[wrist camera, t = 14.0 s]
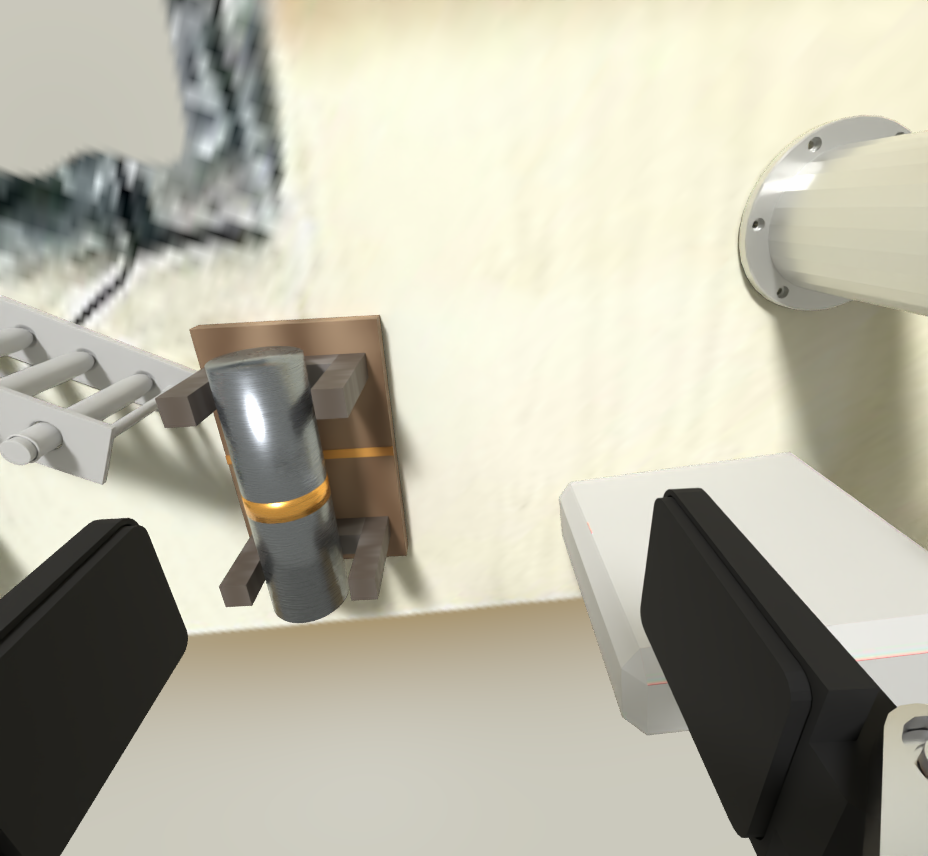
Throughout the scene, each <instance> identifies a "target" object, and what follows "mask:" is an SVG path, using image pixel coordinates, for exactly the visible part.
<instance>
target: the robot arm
mask: <svg viewBox="0 0 928 856" xmlns="http://www.w3.org/2000/svg"><path fill="white" fill-rule="evenodd" d="M808 144H809V147H808ZM753 223H755V225H754V227H753V228H752V225H753ZM739 250H740V256H741V263H742V266H743V268H744V271H745V273H746V276H747V278H748V279H749V281H750V282H751V284H752V285H753V287H754V288H755V289H756V290H757V291H758V292H759V293H760V294H761V295H762V296H764V297H765V298H766V299H768V300H770V301H772V302H774V303H776V304H777V305H781V306H784V307H787V308H790V309H796V310H803V311H815V310H824V309H829V308H833V307H837V306H840V305H842V304H845V303H847V302H850V301H852V300H856V301H861V302H865V303H870V304H874V305H878V306H883V307H887V308H892V309H896V310H901V311H905V312H910V313H914V314H918V315H923V316H927V317H928V130H926V131H921V132H915V133H912V132H911V131H910V130H909V129H908V128H906V127H905V126H903V125H902V124H900V123H899V122H897V121H895V120H892V119H888V118H885V117H882V116H872V115H859V116H853V117H847V118H842V119H838V120H835V121H831V122H828V123H825V124H822V125H820V126H818V127H816V128H814V129H812V130H810V131H808V132H806V133H805V134H803V135H802V136H800V137H799V138H797V139H796V140H795V141H793V142H792V143H790V144H789V145H788V146H787V147H786V148H785V149H784V150H783V151H782V152H781V153H780V154H779V155H777V156H776V157H775V158H774V159H773V161H772V162H771V163H770V165H769V166H768V167H767V168H766V170H765V171H764V172H763V173H762V175H761V176H760V178H759V180H758V182H757V183H756V185H755V187H754V188H753V190H752V192H751V194H750V197H749V199H748V202H747V204H746V207H745V209H744V212H743V217H742V222H741V226H740V236H739ZM777 291H778V292H777ZM640 617H641V622H642V626H643V629H644V631H645V634H646V636H647V638H648V640H649V642H650V645H651V647H652V649H653V651H654V654H655V656H656V658H657V660H658V662H659V665H660V667H661V669H662V671H663V674H664V676H665V678H666V680H667V682H668V685H669V687H670V689H671V691H672V694H673V696H674V698H675V700H676V703H677V705H678V707H679V709H680V711H681V714H682V716H683V718H684V720H685V723H686V725H687V727H688V729H689V731H690V733H691V736H692V738H693V740H694V742H695V744H696V747H697V749H698V751H699V754H700V756H701V758H702V760H703V763H704V765H705V767H706V769H707V771H708V774H709V776H710V778H711V780H712V783H713V785H714V787H715V789H716V791H717V793H718V796H719V798H720V800H721V803H722V805H723V807H724V809H725V811H726V813H727V816H728V818H729V820H730V822H731V824H732V826H733V828H734V830H735V831H736V832H737V834H738V835H739V836H740V837H742V838H749V839H750V841H751V843H752V846H753V848H754V850H755V852H756V854H757V856H928V704H921V703H914V704H907V705H900V706H898V707H897V706H896V705H895V704H894V703H893V702H892V701H891V699H890V698H889V697H888V696H887V695H886V694H885V693H884V692H883V690H882V689H881V688H880V687H879V686H878V685H877V684H876V683H875V681H874V680H873V679H872V678H871V677H870V676H869V675H868V674H867V672H866V671H865V670H864V669H863V668H862V667H861V666H860V665H859V663H858V662H857V661H856V660H855V659H854V658H853V657H852V656H851V654H850V653H849V652H848V651H847V650H846V649H845V648H844V647H843V645H842V644H841V643H840V642H839V641H838V640H837V639H836V638H835V636H834V635H833V634H832V633H831V632H830V631H829V630H828V629H827V627H826V626H825V625H824V624H823V623H822V622H821V621H820V620H819V618H818V617H817V616H816V615H815V614H814V613H813V612H812V611H811V610H810V608H809V607H808V606H807V605H806V604H805V603H804V602H803V601H802V599H801V598H800V597H799V596H798V595H797V594H796V593H795V592H794V590H793V589H792V588H791V587H790V586H789V585H788V584H787V583H786V581H785V580H784V579H783V578H782V577H781V576H780V575H779V574H778V572H777V571H776V570H775V569H774V568H773V567H772V566H771V565H770V564H769V562H768V561H767V560H766V559H765V558H764V557H763V556H762V555H761V553H760V552H759V551H758V550H757V549H756V548H755V547H754V546H753V544H752V543H751V542H750V541H749V540H748V539H747V538H746V537H745V535H744V534H743V533H742V532H741V531H740V530H739V529H738V528H737V526H736V525H735V524H734V523H733V522H732V521H731V520H730V519H729V517H728V516H727V515H726V514H725V513H724V512H723V511H722V510H721V508H720V507H719V506H718V505H717V504H716V503H715V502H714V501H713V499H712V498H711V497H710V496H709V495H708V494H707V493H706V492H705V491H704V490H703V489H702V488H682V489H668V490H667V491H666V492H665V493H664V496H663V498H657V499H656V500H655V502H654V507H653V515H652V523H651V530H650V538H649V545H648V553H647V560H646V568H645V575H644V583H643V590H642V598H641V606H640ZM187 641H188V634H187V630H186V628H185V625H184V623H183V620H182V618H181V615H180V613H179V610H178V608H177V605H176V602H175V600H174V597H173V595H172V592H171V590H170V587H169V585H168V582H167V580H166V577H165V575H164V572H163V570H162V567H161V565H160V562H159V560H158V557H157V555H156V552H155V549H154V547H153V544H152V542H151V539H150V537H149V534H148V532H147V530H146V529H145V528H144V527H143V526H139V525H138V523H137V522H136V521H135V520H133V519H130V518H120V519H101V520H95V521H93V522H91V523H89V524H88V525H87V526H85V527H84V528H83V529H82V530H81V531H80V532H78V533H77V534H76V535H75V536H74V537H73V538H71V539H70V540H69V541H68V542H67V543H66V544H64V545H63V546H62V547H61V548H60V549H59V550H57V551H56V552H55V553H54V554H53V555H52V556H50V557H49V558H48V559H47V560H46V561H45V562H43V563H42V564H41V565H40V566H39V567H38V568H36V569H35V570H34V571H33V572H32V573H31V574H29V575H28V576H27V577H26V578H25V579H24V580H22V581H21V582H20V583H19V584H18V585H17V586H15V587H14V588H13V589H12V590H11V591H10V592H8V593H7V594H6V595H5V596H4V597H3V598H1V599H0V856H60V855H61V854H62V852H63V850H64V848H65V847H66V845H67V844H68V842H69V840H70V838H71V837H72V835H73V834H74V832H75V831H76V829H77V827H78V826H79V824H80V822H81V821H82V819H83V818H84V816H85V814H86V813H87V811H88V809H89V808H90V806H91V805H92V803H93V801H94V800H95V798H96V796H97V795H98V793H99V791H100V790H101V788H102V786H103V785H104V783H105V782H106V780H107V778H108V777H109V775H110V773H111V772H112V770H113V769H114V767H115V765H116V764H117V762H118V760H119V759H120V757H121V755H122V754H123V752H124V750H125V749H126V747H127V746H128V744H129V742H130V741H131V739H132V738H133V736H134V734H135V732H136V731H137V729H138V728H139V726H140V724H141V723H142V721H143V719H144V718H145V716H146V715H147V713H148V711H149V710H150V708H151V706H152V705H153V703H154V701H155V700H156V698H157V697H158V695H159V693H160V692H161V690H162V688H163V687H164V685H165V684H166V682H167V680H168V679H169V677H170V675H171V674H172V672H173V670H174V669H175V667H176V665H177V664H178V662H179V661H180V659H181V657H182V656H183V654H184V652H185V650H186V647H187Z"/></svg>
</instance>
